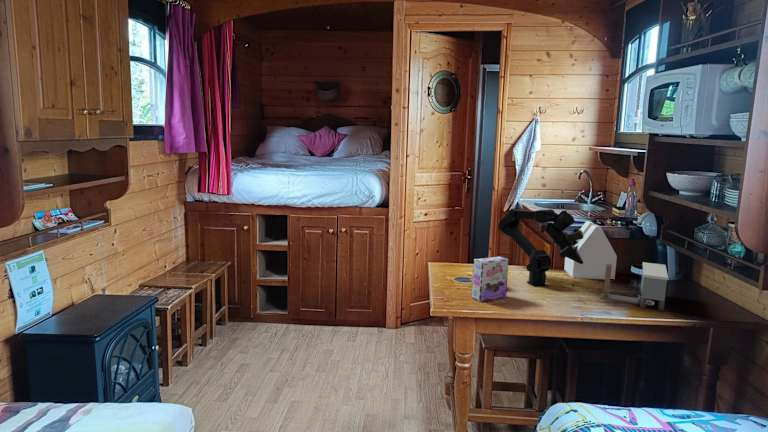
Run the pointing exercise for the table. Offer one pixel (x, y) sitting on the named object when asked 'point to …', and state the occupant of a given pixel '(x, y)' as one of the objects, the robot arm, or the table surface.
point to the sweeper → (616, 297)
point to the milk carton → (592, 254)
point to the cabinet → (653, 284)
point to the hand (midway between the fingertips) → (582, 263)
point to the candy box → (489, 278)
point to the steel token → (649, 302)
